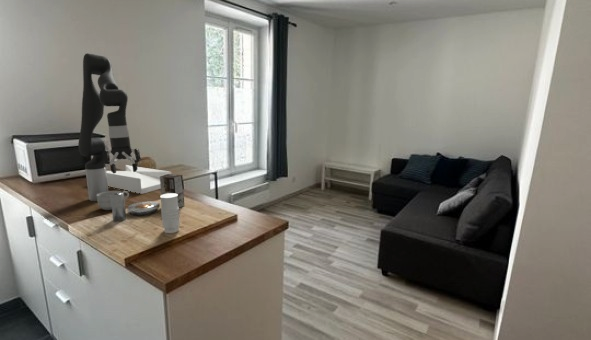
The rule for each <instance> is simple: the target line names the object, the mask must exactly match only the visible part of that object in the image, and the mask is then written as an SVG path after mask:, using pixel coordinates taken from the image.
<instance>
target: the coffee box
mask: <svg viewBox="0 0 591 340" xmlns="http://www.w3.org/2000/svg"><path fill="white" fill-rule="evenodd" d="M160 185H161V189H160V192H161V194H160V196H161V195H163V194H168V193H176V194H178V196H177V199H178V207H180V208H182V207H184V206H185V195H184V194H185V192H184V180H183V174H175V173H172V174H166V175H163V176H160Z"/></svg>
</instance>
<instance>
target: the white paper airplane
mask: <svg viewBox="0 0 591 340" xmlns="http://www.w3.org/2000/svg"><path fill="white" fill-rule="evenodd" d="M137 168H138V169H137V170H136V172H133V166H132V165H128V164H125V170H116V173H113V172H111V170H106V174H107V182H108V186H111V187H115V188H120V189H124V190H123V191H125V190H128V191H127V192H130V191H131V193H135V192H136V193H135V194H139V193H140V195H143V194H147V193H150V192H154V191H158V190H161V185H160V176H163V175H166V174H173V173H172V171H167V170H164V169H163V170H161V169H156V168H155V169H154V168H147V167H141V166H137ZM115 188H114V189H115ZM120 189H119V190H120Z"/></svg>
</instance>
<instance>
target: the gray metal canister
mask: <svg viewBox="0 0 591 340" xmlns="http://www.w3.org/2000/svg"><path fill="white" fill-rule="evenodd" d="M110 198H111V206H112V209H111V212H112V213H111V215H112V221H113V222H118V223H119V222H123V221H125V220H127V212H126V200H125V201H124V198H125V193H123V191H121V192H116V193H112V194H110Z"/></svg>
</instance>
